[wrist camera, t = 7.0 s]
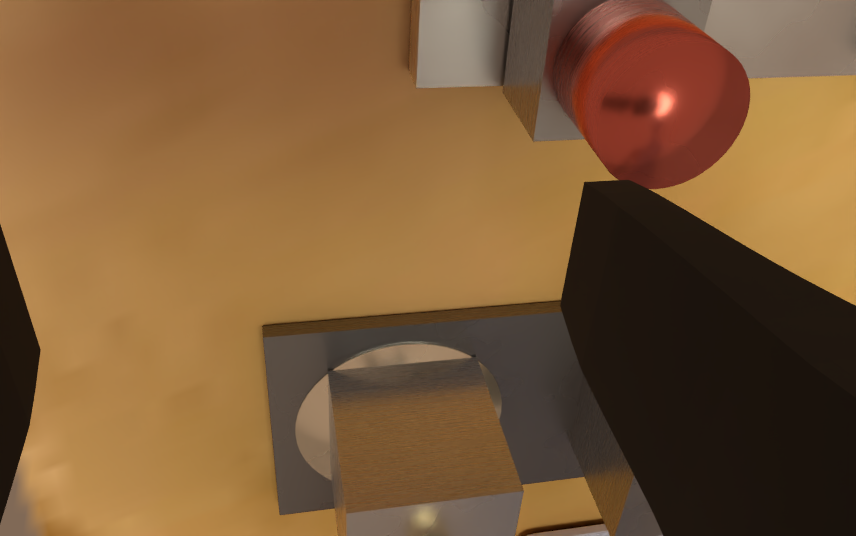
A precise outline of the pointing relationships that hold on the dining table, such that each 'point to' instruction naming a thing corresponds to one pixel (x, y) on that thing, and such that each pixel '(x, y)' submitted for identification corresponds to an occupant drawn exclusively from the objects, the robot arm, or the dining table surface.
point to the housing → (419, 452)
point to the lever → (627, 84)
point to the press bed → (505, 378)
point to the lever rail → (727, 24)
